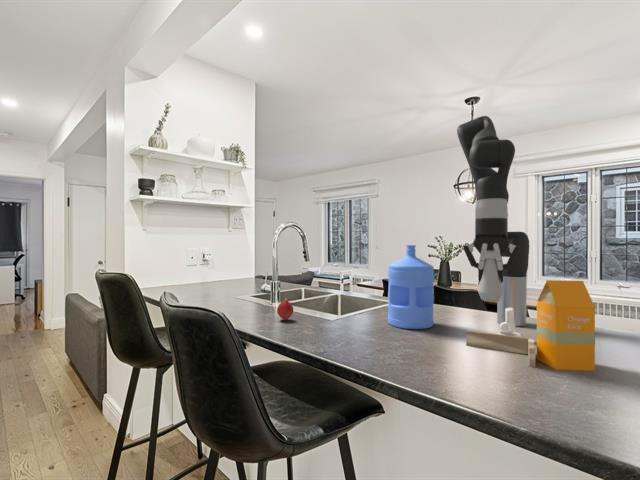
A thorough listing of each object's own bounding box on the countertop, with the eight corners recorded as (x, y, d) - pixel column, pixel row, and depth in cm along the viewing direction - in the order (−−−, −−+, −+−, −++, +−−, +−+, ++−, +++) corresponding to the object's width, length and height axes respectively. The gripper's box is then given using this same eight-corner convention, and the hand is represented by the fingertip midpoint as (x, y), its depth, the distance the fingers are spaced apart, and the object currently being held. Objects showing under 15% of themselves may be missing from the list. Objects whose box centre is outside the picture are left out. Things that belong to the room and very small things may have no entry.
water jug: (386, 319, 132) (387, 244, 133) (429, 320, 130) (430, 245, 130) (388, 328, 117) (389, 244, 117) (437, 331, 115) (438, 245, 115)
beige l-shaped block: (466, 344, 100) (466, 330, 100) (533, 353, 92) (533, 338, 92) (460, 355, 89) (461, 339, 89) (535, 367, 81) (535, 349, 81)
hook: (501, 326, 99) (492, 309, 105) (501, 353, 106) (492, 335, 111) (529, 322, 98) (518, 304, 104) (527, 350, 104) (517, 332, 110)
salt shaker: (474, 300, 91) (474, 249, 91) (483, 297, 94) (483, 249, 95) (498, 303, 86) (498, 250, 86) (506, 300, 90) (506, 250, 90)
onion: (275, 321, 126) (275, 299, 126) (279, 318, 131) (280, 296, 131) (291, 322, 125) (291, 299, 125) (294, 318, 130) (295, 297, 130)
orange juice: (536, 358, 88) (536, 278, 88) (572, 359, 87) (572, 279, 88) (556, 369, 80) (556, 282, 80) (595, 370, 80) (596, 282, 80)
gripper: (459, 217, 91) (459, 283, 91) (522, 215, 84) (521, 287, 84) (464, 219, 97) (463, 281, 97) (522, 217, 90) (522, 284, 90)
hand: (490, 284), depth 90 cm, fingers closed on salt shaker, 3 cm apart
